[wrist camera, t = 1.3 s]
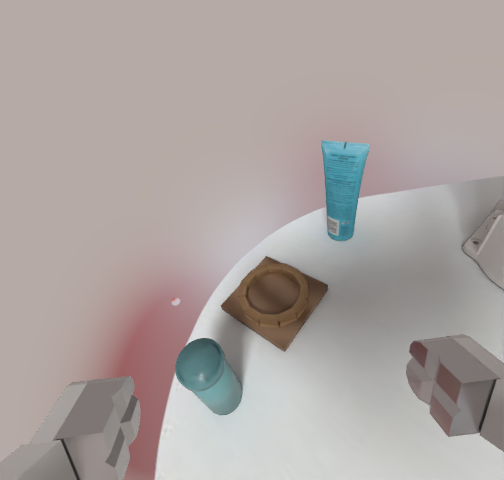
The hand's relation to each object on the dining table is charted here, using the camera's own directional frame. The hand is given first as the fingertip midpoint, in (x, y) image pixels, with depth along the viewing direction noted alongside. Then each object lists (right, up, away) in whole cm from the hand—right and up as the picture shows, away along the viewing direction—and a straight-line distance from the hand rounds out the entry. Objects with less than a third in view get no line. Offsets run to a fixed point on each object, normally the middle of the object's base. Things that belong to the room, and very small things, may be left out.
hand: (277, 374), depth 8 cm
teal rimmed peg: (-5, -17, +29) cm, 34 cm away
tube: (+17, +5, +47) cm, 51 cm away
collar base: (+3, -6, +39) cm, 39 cm away
